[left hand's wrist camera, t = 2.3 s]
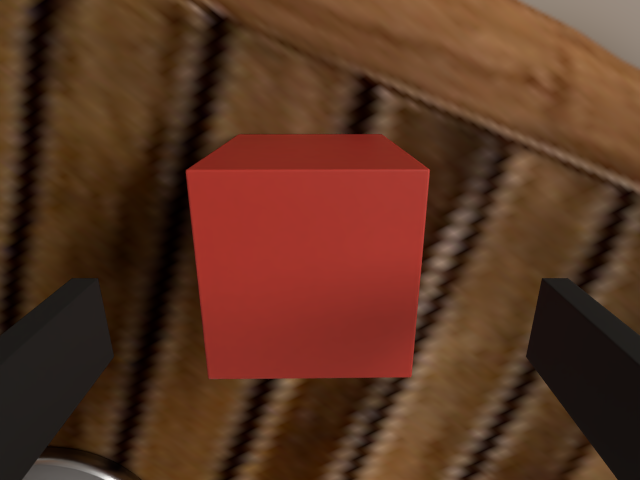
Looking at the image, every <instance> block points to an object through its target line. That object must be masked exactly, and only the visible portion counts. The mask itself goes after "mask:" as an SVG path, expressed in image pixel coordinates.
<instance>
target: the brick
mask: <svg viewBox="0 0 640 480" xmlns="http://www.w3.org/2000/svg"><path fill="white" fill-rule="evenodd" d="M429 174H430V170H429V169H428V168H427V167H425V166H424V165H423V164H421V163H420V162H419V161H417V160H416V159H414V158H413V157H412V156H410V155H409V154H408V153H406V152H405V151H404V150H402V149H401V148H400V147H398V146H397V145H396V144H394V143H393V142H391V141H390V140H389V139H387V138H386V137H385V136H383V135H382V134H239V135H237V136H236V137H234V138H233V139H231V140H230V141H228V142H227V143H225V144H224V145H222V146H221V147H219V148H218V149H217V150H215V151H214V152H212V153H211V154H209V155H208V156H206V157H205V158H203V159H202V160H200V161H199V162H197V163H196V164H194V165H193V166H191V167H190V168H188V169H187V170H186V179H187V188H188V198H189V207H190V216H191V225H192V234H193V243H194V252H195V261H196V271H197V280H198V289H199V298H200V307H201V316H202V325H203V334H204V344H205V353H206V362H207V371H208V378H209V379H268V378H376V377H411V375H412V364H413V352H414V341H415V330H416V319H417V308H418V297H419V285H420V274H421V263H422V252H423V241H424V229H425V218H426V207H427V196H428V185H429Z"/></svg>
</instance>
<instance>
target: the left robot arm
mask: <svg viewBox="0 0 640 480" xmlns="http://www.w3.org/2000/svg"><path fill="white" fill-rule="evenodd" d="M113 357H114V355H113V350H112V345H111V340H110V335H109V330H108V325H107V320H106V315H105V311H104V306H103V301H102V296H101V291H100V286H99V281H98V278H72V279H71V280H69V281H68V282H67V283H66V284H64V285H63V286H62V287H61V288H59V289H58V290H57V291H56V292H54V293H53V294H52V295H51V296H49V297H48V298H47V299H46V300H44V301H43V302H42V303H41V304H39V305H38V306H37V307H36V308H34V309H33V310H32V311H31V312H29V313H28V314H27V315H26V316H24V317H23V318H22V319H21V320H19V321H18V322H17V323H16V324H14V325H13V326H12V327H11V328H9V329H8V330H7V331H6V332H4V333H3V334H2V335H1V336H0V480H141V479H140V478H138V477H137V476H136V475H135V474H133V473H132V472H130V471H129V470H127V469H126V468H124V467H122V466H121V465H119V464H117V463H115V462H113V461H111V460H109V459H106V458H103V457H101V456H98V455H95V454H92V453H89V452H84V451H80V450H75V449H68V448H58V447H47V446H48V444H49V443H50V442H51V440H52V439H53V438H54V436H55V435H56V434H57V432H58V431H59V430H60V428H61V427H62V426H63V424H64V423H65V422H66V420H67V419H68V418H69V416H70V415H71V414H72V412H73V411H74V409H75V408H76V407H77V405H78V404H79V403H80V401H81V400H82V399H83V397H84V396H85V395H86V393H87V392H88V391H89V389H90V388H91V387H92V385H93V384H94V383H95V381H96V380H97V379H98V377H99V376H100V375H101V373H102V372H103V371H104V369H105V368H106V367H107V365H108V364H109V363H110V361H111V360H112V359H113ZM526 357H527V359H528V360H529V361H530V363H531V364H532V365H533V367H534V368H535V369H536V371H537V372H538V373H539V375H540V376H541V377H542V379H543V380H544V381H545V383H546V384H547V385H548V387H549V388H550V389H551V391H552V392H553V393H554V395H555V396H556V397H557V399H558V400H559V401H560V403H561V404H562V405H563V407H564V408H565V409H566V411H567V412H568V414H569V415H570V416H571V418H572V419H573V420H574V422H575V423H576V424H577V426H578V427H579V428H580V430H581V431H582V432H583V434H584V435H585V436H586V438H587V439H588V440H589V442H590V443H591V444H592V446H593V447H594V448H595V450H596V451H597V452H598V454H599V455H600V456H601V458H602V459H603V460H604V462H605V463H606V464H607V466H608V467H609V469H610V470H611V471H612V473H613V474H614V475H615V477H616V478H617V479H618V480H640V336H639V335H638V334H637V333H636V332H634V331H633V330H632V329H631V328H629V327H628V326H627V325H626V324H624V323H623V322H622V321H621V320H619V319H618V318H617V317H616V316H614V315H613V314H612V313H611V312H609V311H608V310H607V309H606V308H604V307H603V306H602V305H601V304H599V303H598V302H597V301H596V300H594V299H593V298H592V297H591V296H589V295H588V294H587V293H586V292H584V291H583V290H582V289H581V288H579V287H578V286H577V285H576V284H574V283H573V282H572V281H571V280H569V279H568V278H542V281H541V286H540V291H539V296H538V301H537V306H536V311H535V315H534V320H533V325H532V330H531V335H530V340H529V345H528V350H527V355H526Z"/></svg>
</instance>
